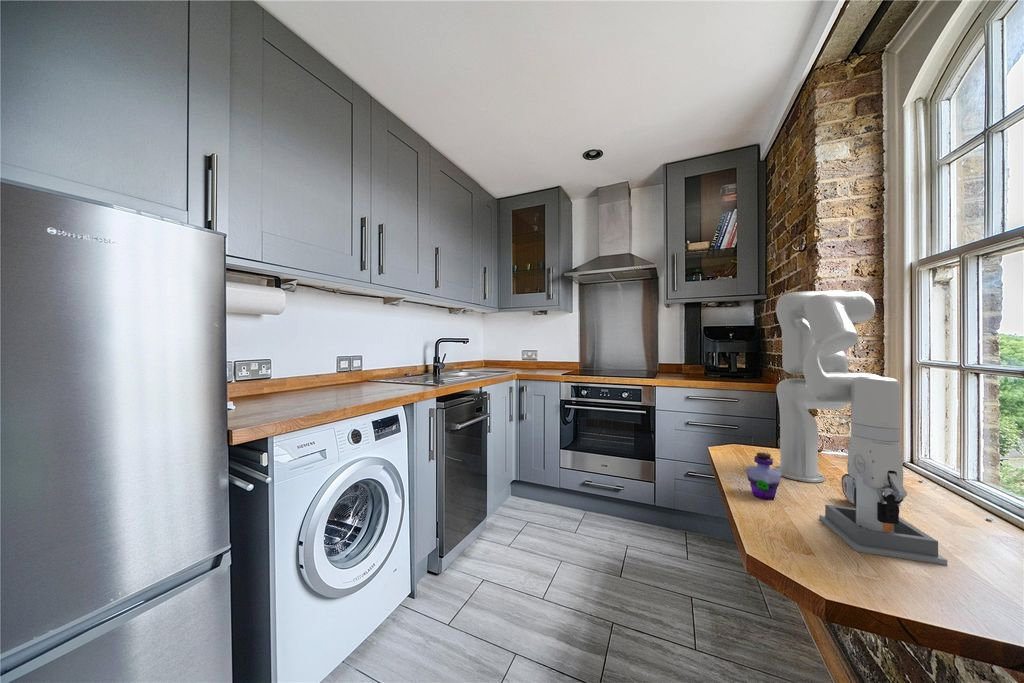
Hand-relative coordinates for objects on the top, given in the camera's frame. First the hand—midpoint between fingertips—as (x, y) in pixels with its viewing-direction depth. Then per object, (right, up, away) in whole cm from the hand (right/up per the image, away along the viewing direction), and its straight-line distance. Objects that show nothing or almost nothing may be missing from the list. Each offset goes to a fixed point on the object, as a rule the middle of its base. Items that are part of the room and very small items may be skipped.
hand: (875, 513), depth 76 cm
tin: (+11, -6, +13) cm, 18 cm away
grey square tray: (0, -6, 0) cm, 6 cm away
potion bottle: (-9, -6, +22) cm, 24 cm away
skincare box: (0, -4, 0) cm, 4 cm away
